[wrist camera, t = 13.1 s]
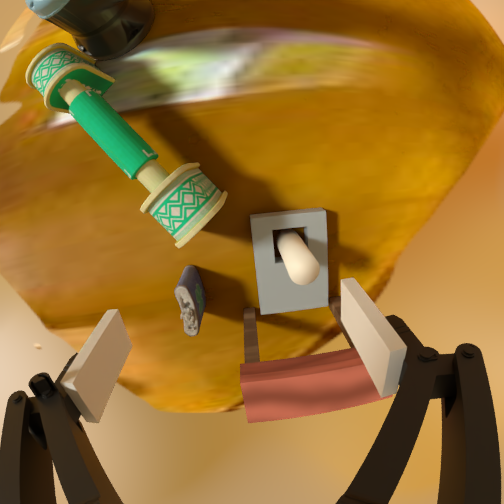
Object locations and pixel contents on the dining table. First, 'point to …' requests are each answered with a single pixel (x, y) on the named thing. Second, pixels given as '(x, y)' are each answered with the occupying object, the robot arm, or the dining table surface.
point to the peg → (297, 257)
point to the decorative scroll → (124, 141)
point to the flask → (191, 299)
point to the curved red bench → (302, 378)
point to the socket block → (274, 270)
